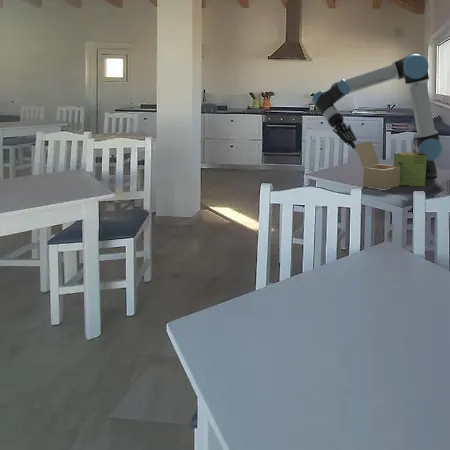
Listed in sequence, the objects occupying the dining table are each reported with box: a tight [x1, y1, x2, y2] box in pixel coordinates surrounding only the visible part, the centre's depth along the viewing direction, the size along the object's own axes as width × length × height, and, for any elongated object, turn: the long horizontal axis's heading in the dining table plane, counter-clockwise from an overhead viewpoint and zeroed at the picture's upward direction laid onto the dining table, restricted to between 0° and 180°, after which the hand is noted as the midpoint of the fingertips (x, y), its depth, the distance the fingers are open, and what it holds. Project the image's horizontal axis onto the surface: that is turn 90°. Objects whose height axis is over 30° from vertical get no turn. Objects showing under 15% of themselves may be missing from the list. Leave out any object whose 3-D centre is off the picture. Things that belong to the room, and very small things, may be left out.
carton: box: [362, 163, 400, 190], centre depth 320 cm, size 14×12×10 cm
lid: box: [355, 141, 380, 168], centre depth 323 cm, size 14×12×1 cm
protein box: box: [393, 151, 427, 187], centre depth 326 cm, size 10×15×16 cm
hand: (359, 152), depth 325 cm, fingers closed
